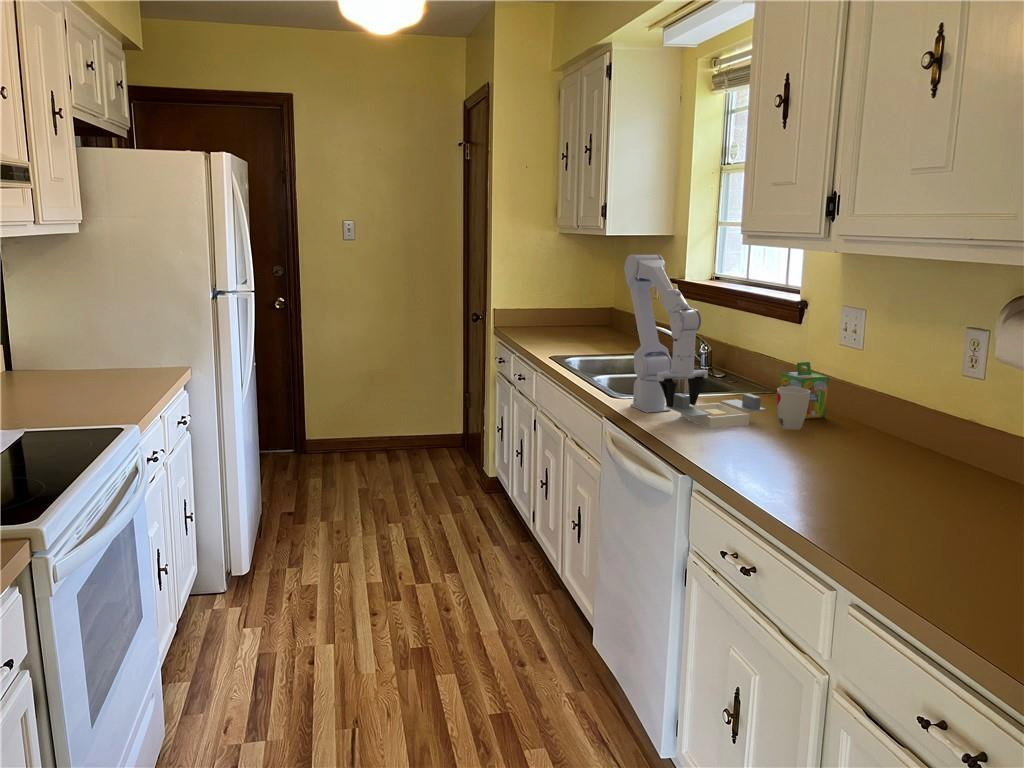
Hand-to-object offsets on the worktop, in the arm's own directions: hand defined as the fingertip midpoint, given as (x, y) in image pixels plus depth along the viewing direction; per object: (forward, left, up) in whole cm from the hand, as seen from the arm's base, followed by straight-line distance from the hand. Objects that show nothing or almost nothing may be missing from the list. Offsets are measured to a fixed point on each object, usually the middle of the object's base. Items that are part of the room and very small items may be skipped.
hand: (681, 405), depth 215 cm
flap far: (+3, +18, -1) cm, 18 cm away
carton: (+3, +9, -4) cm, 10 cm away
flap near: (+3, 0, -1) cm, 3 cm away
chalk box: (+6, +36, -4) cm, 36 cm away
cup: (+16, +24, -4) cm, 29 cm away
